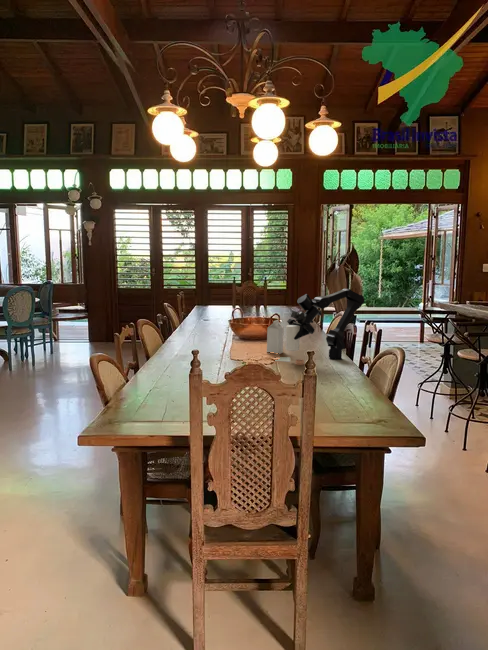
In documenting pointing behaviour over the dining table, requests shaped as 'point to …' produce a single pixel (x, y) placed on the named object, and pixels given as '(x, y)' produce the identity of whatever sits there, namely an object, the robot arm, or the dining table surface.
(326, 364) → the dining table surface
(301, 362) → the bowl
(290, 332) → the white cylinder
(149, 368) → the dining table surface
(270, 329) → the milk carton
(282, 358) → the mat
